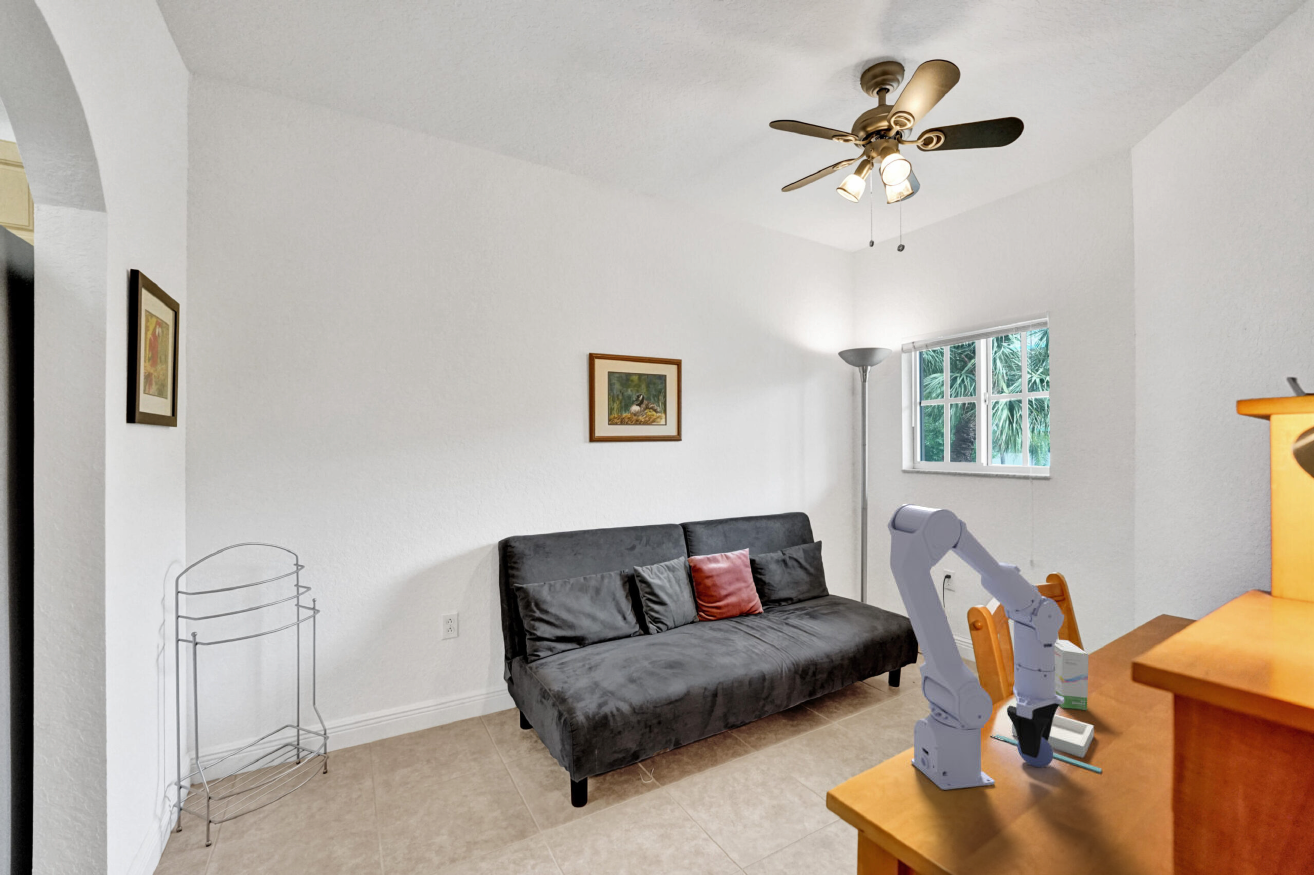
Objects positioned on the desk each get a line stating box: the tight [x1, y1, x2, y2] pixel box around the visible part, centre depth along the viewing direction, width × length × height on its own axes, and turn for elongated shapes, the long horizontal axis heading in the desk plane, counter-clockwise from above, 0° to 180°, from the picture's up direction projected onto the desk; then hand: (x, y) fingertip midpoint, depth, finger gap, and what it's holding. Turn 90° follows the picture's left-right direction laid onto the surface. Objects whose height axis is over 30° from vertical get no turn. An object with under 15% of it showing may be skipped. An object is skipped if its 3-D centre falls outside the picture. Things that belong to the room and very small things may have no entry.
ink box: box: [1055, 639, 1089, 711], centre depth 117 cm, size 9×5×12 cm, turn 168°
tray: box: [1011, 714, 1095, 759], centre depth 102 cm, size 11×11×2 cm
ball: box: [1016, 737, 1054, 768], centre depth 93 cm, size 5×5×5 cm
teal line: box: [992, 734, 1102, 774], centre depth 96 cm, size 16×1×1 cm, turn 44°
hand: (1035, 746), depth 93 cm, fingers open, 7 cm apart
